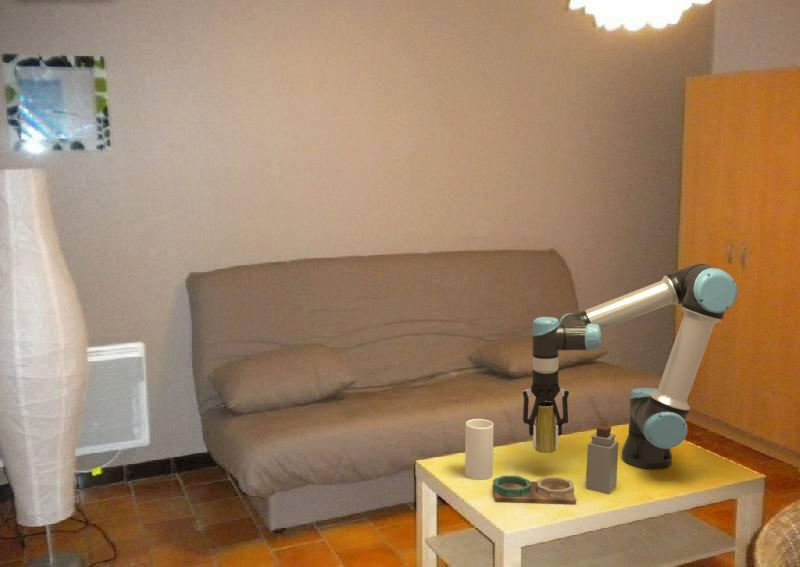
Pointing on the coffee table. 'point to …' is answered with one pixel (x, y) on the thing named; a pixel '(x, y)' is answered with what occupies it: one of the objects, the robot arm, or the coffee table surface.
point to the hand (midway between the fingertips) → (545, 445)
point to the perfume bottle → (602, 461)
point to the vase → (545, 428)
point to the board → (534, 490)
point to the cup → (479, 449)
